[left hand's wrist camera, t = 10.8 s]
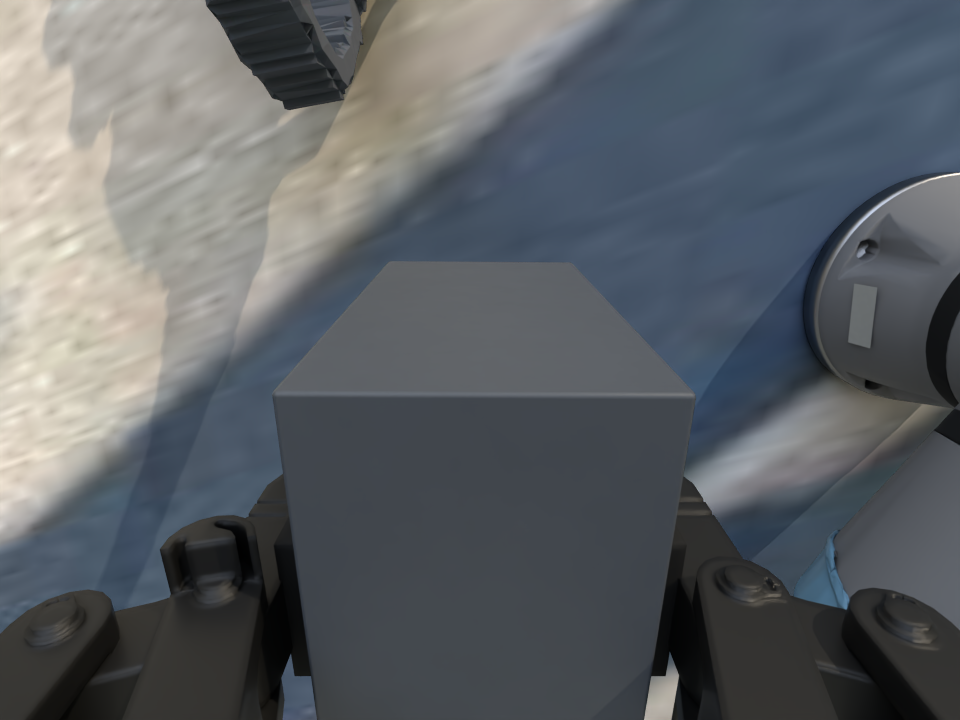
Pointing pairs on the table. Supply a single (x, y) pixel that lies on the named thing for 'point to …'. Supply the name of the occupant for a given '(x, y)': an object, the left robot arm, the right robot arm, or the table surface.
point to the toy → (295, 45)
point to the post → (482, 497)
